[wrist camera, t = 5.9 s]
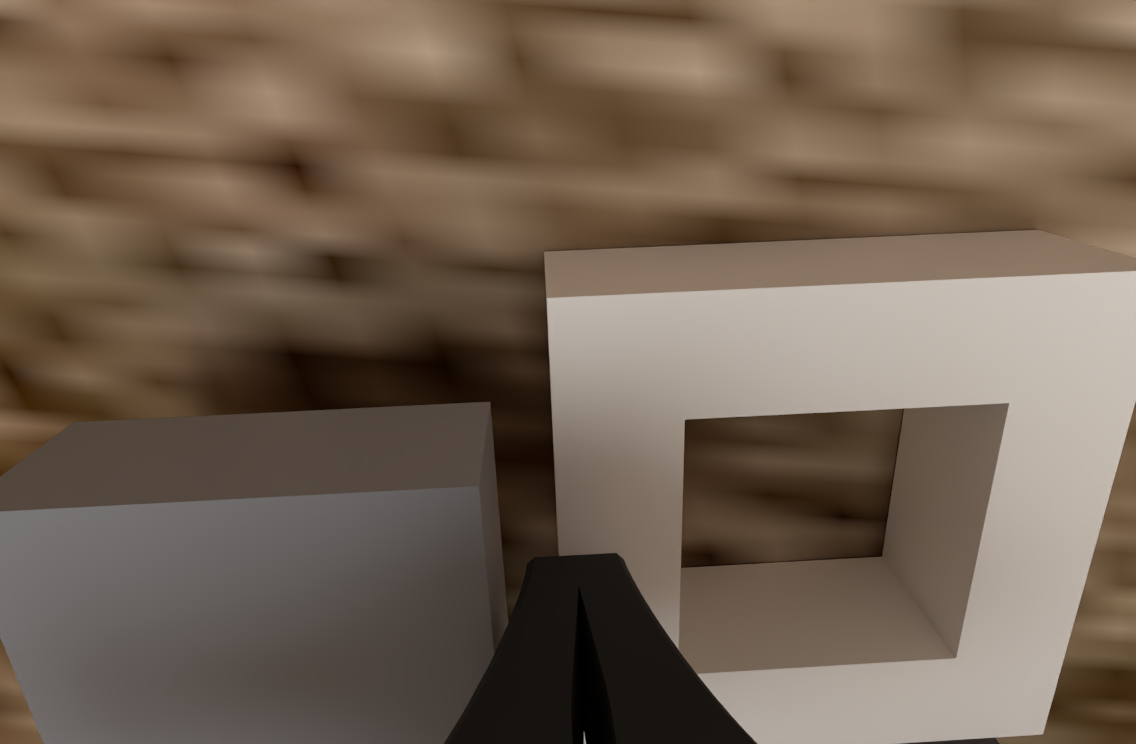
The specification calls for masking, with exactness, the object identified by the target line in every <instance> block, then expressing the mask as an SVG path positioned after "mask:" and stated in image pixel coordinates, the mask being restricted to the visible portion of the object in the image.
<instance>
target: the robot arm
mask: <svg viewBox="0 0 1136 744" xmlns="http://www.w3.org/2000/svg"><path fill="white" fill-rule="evenodd" d="M584 734H585V740H586V744H757V743H756V742H755V741H754V740H753V738H752V737H751V736H750V735H749V734H748V733H747V732H746V731H745V730H744V729H743V728H742V727H741V726H740V725H739V724H738V722H737V721H736V720H735V719H734V718H733V717H732V716H731V715H730V713H729V712H728V711H727V710H726V709H725V708H724V707H723V705H722V704H721V703H720V702H719V701H718V700H717V698H716V697H715V696H714V695H713V693H712V692H711V691H710V690H709V689H708V687H707V686H706V685H705V684H704V682H703V681H702V680H701V679H700V677H699V676H698V675H697V674H696V672H695V671H694V670H693V669H692V667H691V666H690V665H689V663H688V662H687V661H686V659H685V658H684V657H683V655H682V654H681V653H680V651H679V650H678V648H677V647H676V645H675V644H674V643H673V641H672V640H671V638H670V637H669V636H668V634H667V633H666V631H665V630H664V628H663V627H662V626H661V624H660V623H659V621H658V620H657V618H656V617H655V615H654V613H653V612H652V610H651V609H650V607H649V605H648V604H647V602H646V601H645V599H644V597H643V596H642V594H641V592H640V590H639V589H638V587H637V585H636V583H635V582H634V580H633V578H632V576H631V574H630V572H629V570H628V568H627V566H626V563H625V561H624V559H623V558H622V557H621V556H619V555H618V554H617V553H605V554H587V555H568V556H550V557H534V558H533V559H532V560H531V561H530V562H529V563H528V564H527V569H526V574H525V578H524V581H523V585H522V588H521V591H520V594H519V597H518V600H517V603H516V605H515V608H514V610H513V613H512V616H511V618H510V621H509V623H508V625H507V627H506V629H505V632H504V634H503V636H502V638H501V640H500V643H499V645H498V647H497V649H496V651H495V654H494V656H493V658H492V660H491V662H490V664H489V666H488V668H487V670H486V671H485V673H484V675H483V677H482V679H481V681H480V683H479V684H478V686H477V688H476V690H475V692H474V694H473V695H472V697H471V699H470V701H469V703H468V705H467V706H466V708H465V710H464V712H463V713H462V715H461V717H460V718H459V720H458V722H457V723H456V725H455V727H454V728H453V730H452V731H451V733H450V735H449V736H448V738H447V739H446V741H445V742H444V744H584Z"/></svg>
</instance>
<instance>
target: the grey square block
mask: <svg viewBox="0 0 1136 744" xmlns="http://www.w3.org/2000/svg"><path fill="white" fill-rule="evenodd" d="M507 625H508V613H507V601H506V589H505V577H504V564H503V552H502V540H501V528H500V515H499V503H498V491H497V479H496V467H495V454H494V442H493V430H492V418H491V406H490V402H474V403H454V404H434V405H413V406H393V407H373V408H353V409H333V410H313V411H293V412H273V413H253V414H233V415H212V416H192V417H172V418H152V419H132V420H112V421H92V422H73V423H72V424H71V425H69V426H68V427H67V428H65V429H64V430H63V431H61V432H60V433H58V434H57V435H56V436H54V437H53V438H52V439H50V440H49V441H48V442H46V443H45V444H44V445H42V446H41V447H40V448H38V449H37V450H36V451H34V452H33V453H32V454H30V455H29V456H28V457H26V458H25V459H23V460H22V461H21V462H19V463H18V464H17V465H15V466H14V467H13V468H11V469H10V470H9V471H7V472H6V473H5V474H3V475H2V476H1V477H0V638H1V640H2V643H3V645H4V648H5V650H6V652H7V655H8V657H9V660H10V662H11V665H12V667H13V670H14V672H15V674H16V677H17V679H18V682H19V684H20V687H21V689H22V692H23V694H24V696H25V699H26V701H27V704H28V706H29V709H30V711H31V714H32V716H33V718H34V721H35V723H36V726H37V728H38V731H39V733H40V736H41V738H42V740H43V743H44V744H444V742H445V741H446V739H447V738H448V736H449V735H450V733H451V731H452V730H453V728H454V727H455V725H456V723H457V722H458V720H459V718H460V717H461V715H462V713H463V712H464V710H465V708H466V706H467V705H468V703H469V701H470V699H471V697H472V695H473V694H474V692H475V690H476V688H477V686H478V684H479V683H480V681H481V679H482V677H483V675H484V673H485V671H486V670H487V668H488V666H489V664H490V662H491V660H492V658H493V656H494V654H495V651H496V649H497V647H498V645H499V643H500V640H501V638H502V636H503V634H504V632H505V629H506V627H507Z"/></svg>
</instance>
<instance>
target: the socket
mask: <svg viewBox="0 0 1136 744" xmlns="http://www.w3.org/2000/svg"><path fill="white" fill-rule="evenodd" d="M544 263H545V284H546V305H547V326H548V347H549V368H550V389H551V409H552V430H553V451H554V472H555V493H556V514H557V535H558V556H568V555H587V554H605V553H617V554H618V555H619V556H621V557H622V558H623V559H624V561H625V563H626V566H627V568H628V570H629V572H630V574H631V576H632V578H633V580H634V582H635V583H636V585H637V587H638V589H639V590H640V592H641V594H642V596H643V597H644V599H645V601H646V602H647V604H648V605H649V607H650V609H651V610H652V612H653V613H654V615H655V617H656V618H657V620H658V621H659V623H660V624H661V626H662V627H663V628H664V630H665V631H666V633H667V634H668V636H669V637H670V638H671V640H672V641H673V643H674V644H675V645H676V647H677V648H678V650H679V651H680V653H681V654H682V655H683V657H684V658H685V659H686V661H687V662H688V663H689V665H690V666H691V667H692V669H693V670H694V671H695V672H696V674H697V675H698V676H699V677H700V679H701V680H702V681H703V682H704V684H705V685H706V686H707V687H708V689H709V690H710V691H711V692H712V693H713V695H714V696H715V697H716V698H717V700H718V701H719V702H720V703H721V704H722V705H723V707H724V708H725V709H726V710H727V711H728V712H729V713H730V715H731V716H732V717H733V718H734V719H735V720H736V721H737V722H738V724H739V725H740V726H741V727H742V728H743V729H744V730H745V731H746V732H747V733H748V734H749V735H750V736H751V737H752V738H753V740H754V741H755V742H756V743H757V744H900V743H916V742H932V741H947V740H963V739H979V738H995V737H1010V736H1026V735H1042V734H1043V732H1044V728H1045V725H1046V721H1047V718H1048V714H1049V710H1050V707H1051V703H1052V700H1053V696H1054V693H1055V689H1056V685H1057V682H1058V678H1059V675H1060V671H1061V667H1062V664H1063V660H1064V657H1065V653H1066V649H1067V646H1068V642H1069V639H1070V635H1071V631H1072V628H1073V624H1074V621H1075V617H1076V614H1077V610H1078V606H1079V603H1080V599H1081V596H1082V592H1083V588H1084V585H1085V581H1086V578H1087V574H1088V570H1089V567H1090V563H1091V560H1092V556H1093V553H1094V549H1095V545H1096V542H1097V538H1098V535H1099V531H1100V527H1101V524H1102V520H1103V517H1104V513H1105V509H1106V506H1107V502H1108V499H1109V495H1110V491H1111V488H1112V484H1113V481H1114V477H1115V474H1116V470H1117V466H1118V463H1119V459H1120V456H1121V452H1122V448H1123V445H1124V441H1125V438H1126V434H1127V430H1128V427H1129V423H1130V420H1131V416H1132V413H1133V409H1134V405H1135V402H1136V258H1132V257H1129V256H1126V255H1122V254H1119V253H1116V252H1112V251H1109V250H1105V249H1102V248H1099V247H1095V246H1092V245H1089V244H1085V243H1082V242H1078V241H1075V240H1072V239H1068V238H1065V237H1061V236H1058V235H1055V234H1051V233H1048V232H1045V231H1041V230H1021V231H998V232H975V233H953V234H930V235H908V236H885V237H862V238H840V239H817V240H794V241H772V242H749V243H727V244H704V245H681V246H659V247H636V248H613V249H591V250H568V251H546V252H544ZM903 408H904V413H903V419H902V426H901V433H900V439H899V446H898V453H897V459H896V466H895V473H894V479H893V486H892V493H891V499H890V506H889V513H888V519H887V526H886V533H885V539H884V546H883V553H882V557H867V558H849V559H831V560H813V561H796V562H778V563H760V564H742V565H725V566H707V567H689V568H681V544H682V507H683V470H684V433H685V420H687V419H706V418H726V417H746V416H766V415H785V414H805V413H825V412H844V411H864V410H884V409H903ZM584 744H586V740H585V734H584Z"/></svg>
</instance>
